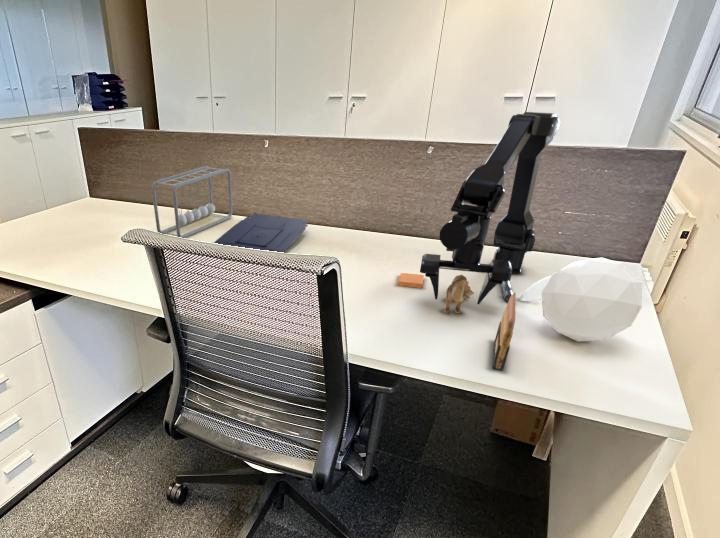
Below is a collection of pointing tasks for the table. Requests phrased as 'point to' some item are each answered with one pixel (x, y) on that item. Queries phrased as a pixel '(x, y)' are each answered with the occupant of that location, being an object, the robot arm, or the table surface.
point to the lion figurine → (457, 293)
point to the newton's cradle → (195, 213)
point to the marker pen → (506, 290)
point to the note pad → (411, 280)
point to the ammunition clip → (504, 335)
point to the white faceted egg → (589, 299)
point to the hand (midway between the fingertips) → (456, 301)
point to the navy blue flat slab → (264, 232)
